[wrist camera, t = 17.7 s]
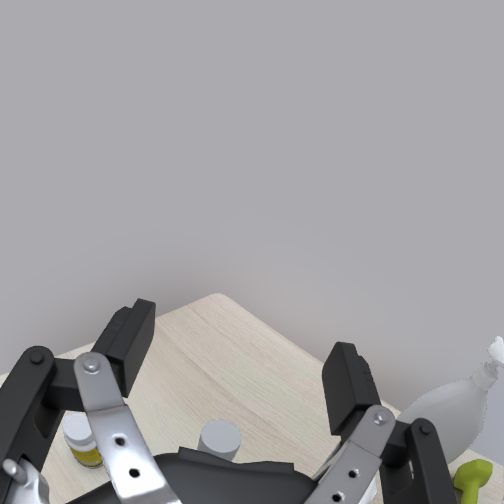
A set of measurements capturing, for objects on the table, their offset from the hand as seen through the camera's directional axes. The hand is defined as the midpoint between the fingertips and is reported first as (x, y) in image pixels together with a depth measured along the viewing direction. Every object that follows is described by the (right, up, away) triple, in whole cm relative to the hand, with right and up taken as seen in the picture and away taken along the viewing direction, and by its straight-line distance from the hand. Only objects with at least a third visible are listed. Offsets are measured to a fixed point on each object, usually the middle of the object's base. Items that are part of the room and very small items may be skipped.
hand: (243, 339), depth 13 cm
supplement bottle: (-22, -24, +17) cm, 36 cm away
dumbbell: (+34, -40, +13) cm, 54 cm away
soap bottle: (+27, -32, +25) cm, 49 cm away
